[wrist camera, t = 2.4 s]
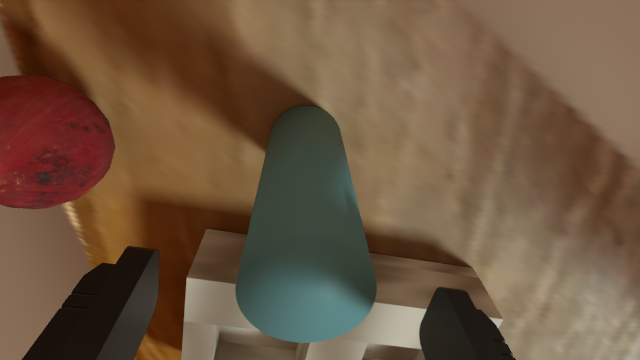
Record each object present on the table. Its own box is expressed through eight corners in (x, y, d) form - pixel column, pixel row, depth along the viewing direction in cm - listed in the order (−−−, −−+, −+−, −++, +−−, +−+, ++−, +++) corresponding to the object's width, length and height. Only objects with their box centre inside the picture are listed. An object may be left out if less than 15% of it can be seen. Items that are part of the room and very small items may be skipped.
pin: (348, 112, 21) (394, 247, 10) (332, 177, 23) (357, 349, 12) (275, 98, 20) (244, 225, 10) (265, 165, 22) (228, 334, 11)
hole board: (473, 268, 26) (503, 319, 22) (417, 380, 31) (434, 438, 27) (206, 228, 24) (186, 277, 20) (194, 356, 29) (177, 415, 25)
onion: (149, 89, 20) (62, 148, 13) (126, 180, 22) (42, 272, 15) (28, 42, 19) (-141, 77, 12) (18, 143, 21) (-129, 224, 14)
